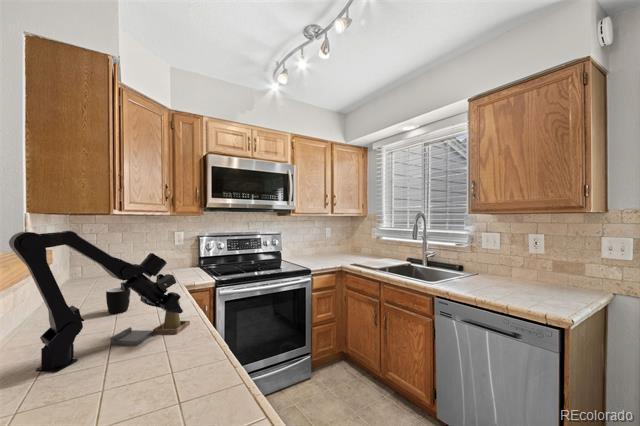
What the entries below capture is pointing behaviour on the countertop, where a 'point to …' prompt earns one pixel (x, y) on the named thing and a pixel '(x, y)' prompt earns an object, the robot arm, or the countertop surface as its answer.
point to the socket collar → (171, 331)
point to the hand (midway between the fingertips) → (175, 310)
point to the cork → (172, 320)
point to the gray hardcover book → (130, 337)
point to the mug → (117, 300)
